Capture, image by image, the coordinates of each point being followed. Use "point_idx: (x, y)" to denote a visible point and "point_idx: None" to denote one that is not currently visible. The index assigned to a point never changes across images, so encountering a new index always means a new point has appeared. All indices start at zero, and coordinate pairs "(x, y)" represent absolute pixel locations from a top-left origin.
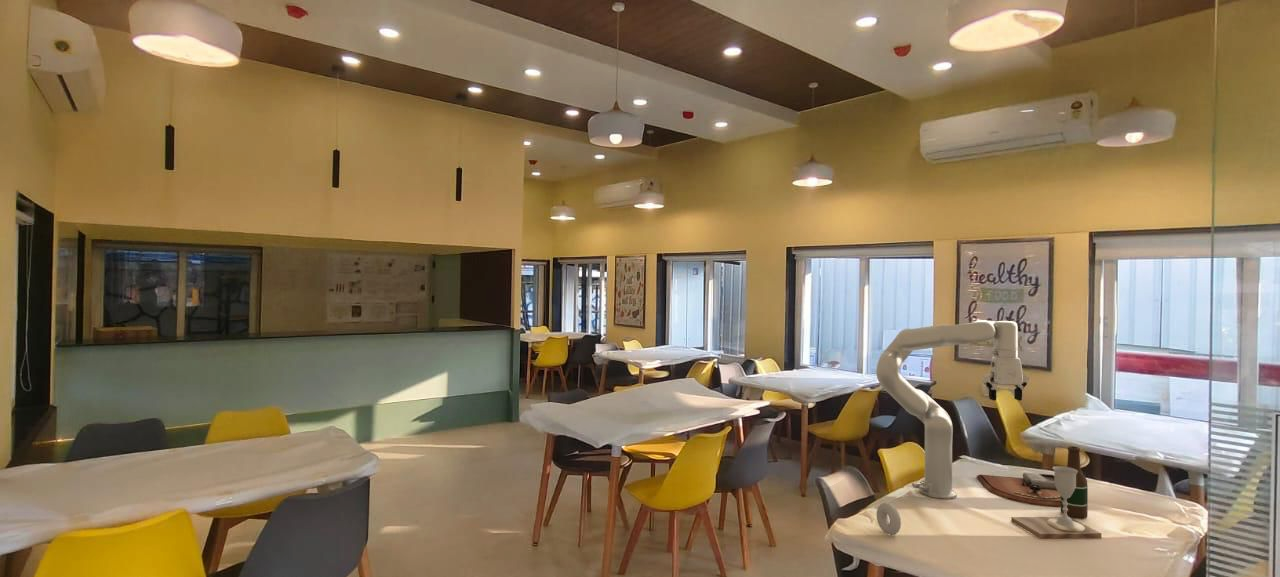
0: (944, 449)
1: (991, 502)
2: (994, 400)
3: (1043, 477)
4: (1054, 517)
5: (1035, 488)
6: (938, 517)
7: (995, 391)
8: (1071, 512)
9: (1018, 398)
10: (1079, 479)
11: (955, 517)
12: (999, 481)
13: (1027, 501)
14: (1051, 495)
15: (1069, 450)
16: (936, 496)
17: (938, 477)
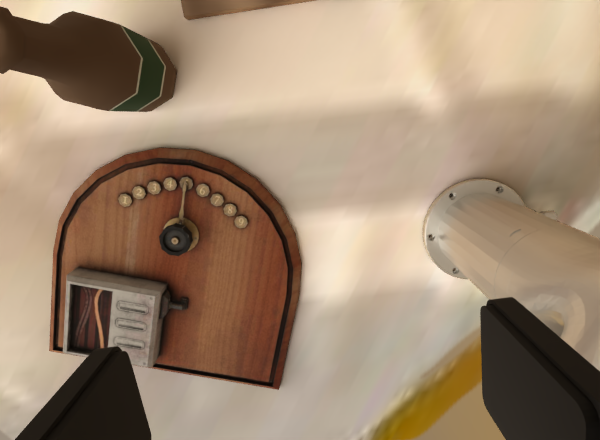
0: (576, 236)
1: (345, 166)
2: (506, 299)
3: (102, 339)
4: (232, 2)
5: (181, 226)
6: (588, 3)
7: (596, 382)
8: (158, 45)
9: (123, 383)
10: (75, 15)
11: (532, 10)
12: (242, 329)
13: (236, 169)
14: (141, 214)
15: (21, 30)
16: (504, 184)
17: (524, 207)
